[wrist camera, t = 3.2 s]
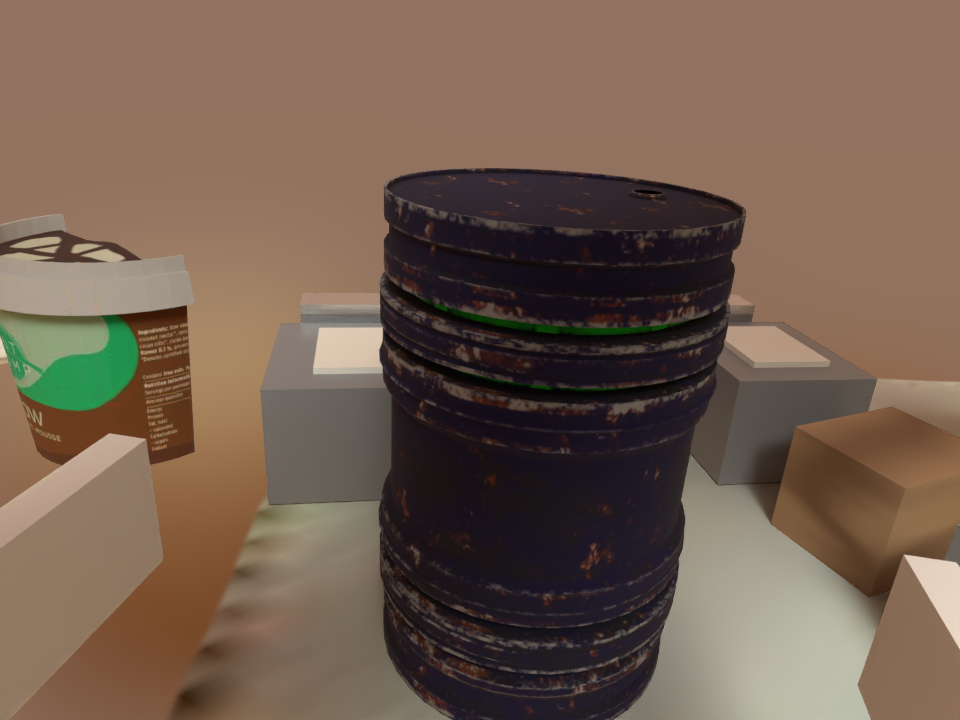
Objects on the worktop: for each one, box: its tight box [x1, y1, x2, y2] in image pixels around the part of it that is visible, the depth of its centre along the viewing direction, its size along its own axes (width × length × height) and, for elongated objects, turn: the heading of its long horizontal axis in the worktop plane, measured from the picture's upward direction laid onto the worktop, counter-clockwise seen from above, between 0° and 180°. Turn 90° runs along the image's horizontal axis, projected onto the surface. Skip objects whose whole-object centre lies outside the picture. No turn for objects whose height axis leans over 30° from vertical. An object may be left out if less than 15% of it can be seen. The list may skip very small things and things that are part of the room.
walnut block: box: [771, 407, 960, 597], centre depth 29 cm, size 5×6×5 cm
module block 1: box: [260, 323, 392, 505], centre depth 33 cm, size 8×8×6 cm
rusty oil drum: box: [379, 168, 746, 720], centre depth 22 cm, size 10×10×15 cm
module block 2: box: [690, 322, 877, 485], centre depth 37 cm, size 8×7×6 cm
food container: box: [0, 214, 194, 465], centre depth 32 cm, size 12×6×10 cm, turn 52°
